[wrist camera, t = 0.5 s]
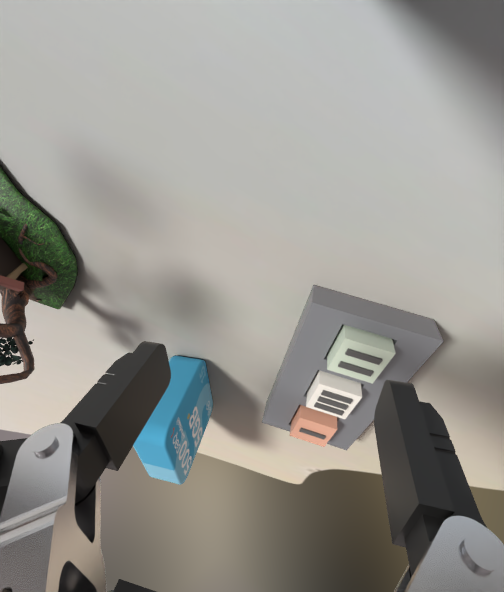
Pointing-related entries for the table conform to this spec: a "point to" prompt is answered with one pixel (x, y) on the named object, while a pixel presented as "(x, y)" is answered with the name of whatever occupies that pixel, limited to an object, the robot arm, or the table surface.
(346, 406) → the button three
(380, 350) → the button two
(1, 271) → the bonsai tree
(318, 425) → the button one
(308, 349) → the button panel
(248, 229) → the table surface
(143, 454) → the data package
